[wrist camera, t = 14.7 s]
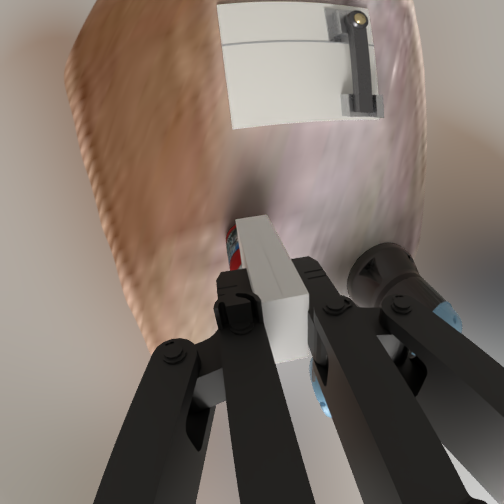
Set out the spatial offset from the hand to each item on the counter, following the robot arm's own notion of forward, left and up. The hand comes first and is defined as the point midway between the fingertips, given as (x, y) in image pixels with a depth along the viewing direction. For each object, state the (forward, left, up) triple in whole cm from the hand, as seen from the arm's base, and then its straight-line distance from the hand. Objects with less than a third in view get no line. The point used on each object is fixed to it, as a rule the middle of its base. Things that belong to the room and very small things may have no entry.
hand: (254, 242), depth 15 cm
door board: (+13, -14, -32) cm, 38 cm away
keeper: (+5, -22, -31) cm, 38 cm away
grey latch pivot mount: (+19, -21, -31) cm, 42 cm away
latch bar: (+12, -21, -28) cm, 37 cm away
